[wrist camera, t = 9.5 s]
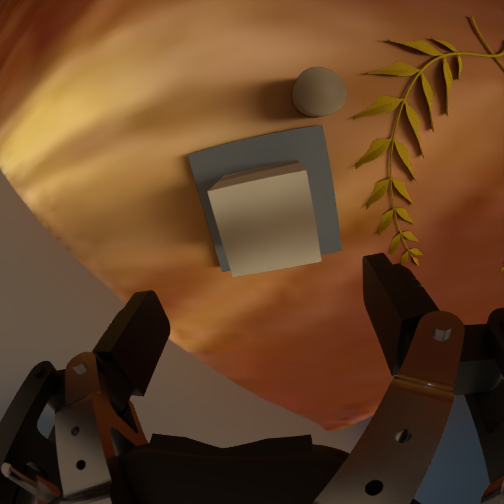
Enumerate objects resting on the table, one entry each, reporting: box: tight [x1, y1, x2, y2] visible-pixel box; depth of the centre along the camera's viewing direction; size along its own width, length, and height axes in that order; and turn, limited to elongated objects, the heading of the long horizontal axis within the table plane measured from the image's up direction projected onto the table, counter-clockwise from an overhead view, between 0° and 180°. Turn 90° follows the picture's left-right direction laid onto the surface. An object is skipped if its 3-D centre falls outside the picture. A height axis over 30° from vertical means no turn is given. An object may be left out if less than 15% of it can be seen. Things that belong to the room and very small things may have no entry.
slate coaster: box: [188, 125, 341, 272], centre depth 23 cm, size 11×11×1 cm
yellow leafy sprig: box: [353, 17, 504, 272], centre depth 18 cm, size 35×2×30 cm
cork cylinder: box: [291, 67, 346, 118], centre depth 18 cm, size 4×4×4 cm
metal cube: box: [207, 160, 321, 277], centre depth 20 cm, size 6×6×6 cm
